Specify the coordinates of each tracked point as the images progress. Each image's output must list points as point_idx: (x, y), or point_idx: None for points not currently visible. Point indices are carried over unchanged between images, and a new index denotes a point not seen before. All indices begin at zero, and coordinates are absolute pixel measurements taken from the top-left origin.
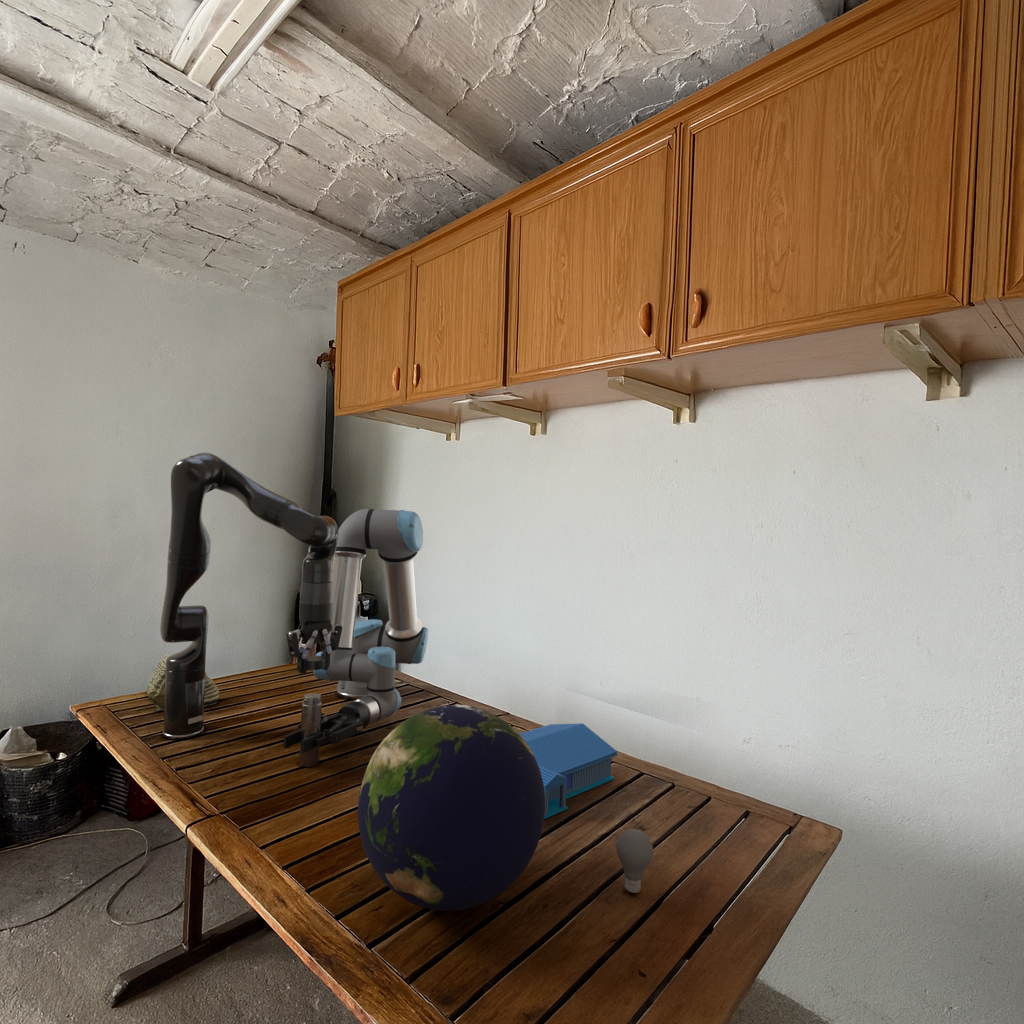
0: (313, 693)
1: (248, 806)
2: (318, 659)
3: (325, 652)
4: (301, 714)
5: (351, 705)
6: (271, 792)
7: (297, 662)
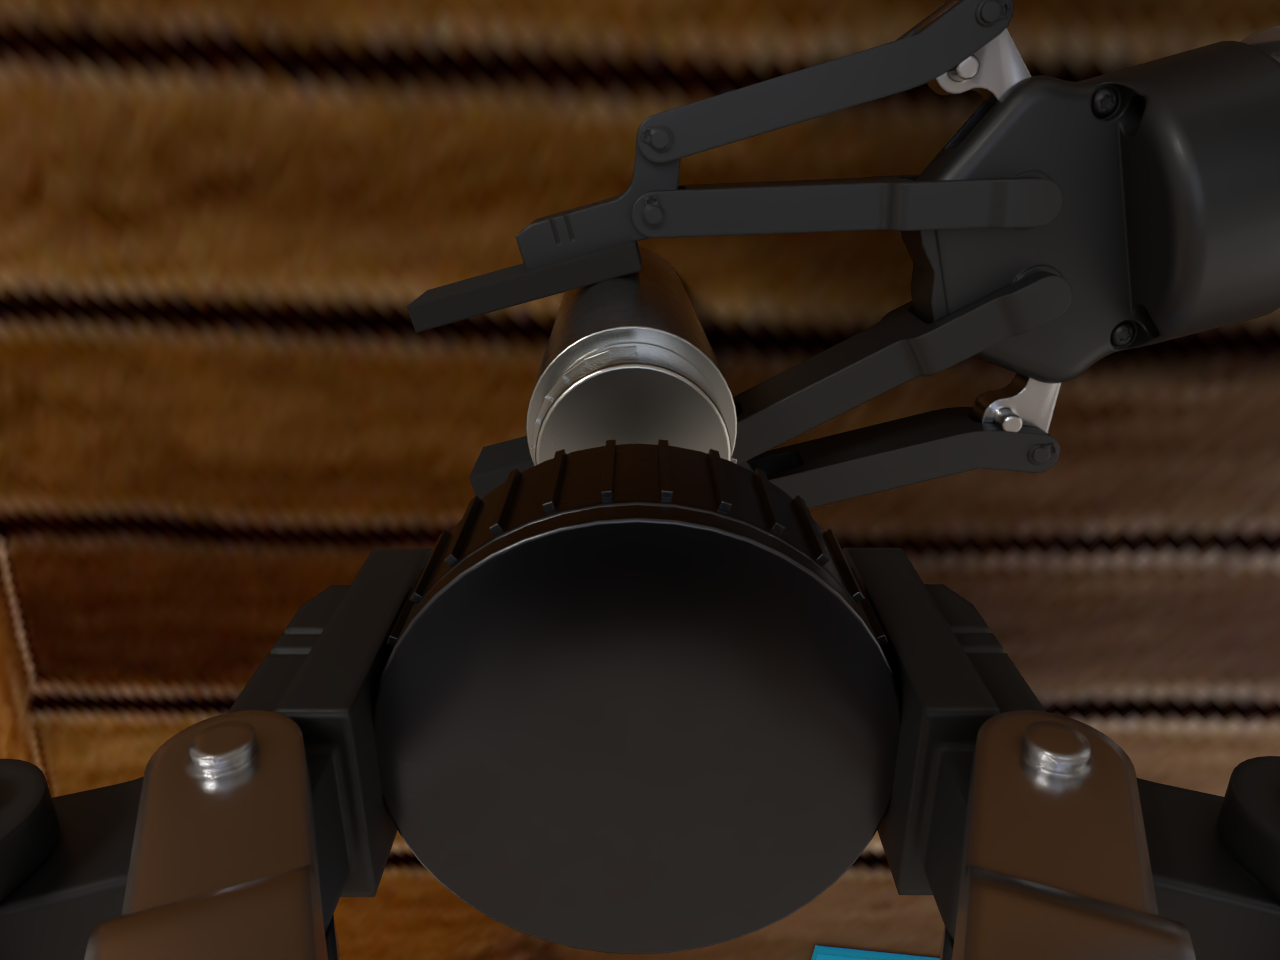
0: (692, 397)
1: (123, 551)
2: (657, 879)
3: (938, 883)
4: (547, 350)
5: (1195, 250)
6: (274, 497)
7: (247, 693)
